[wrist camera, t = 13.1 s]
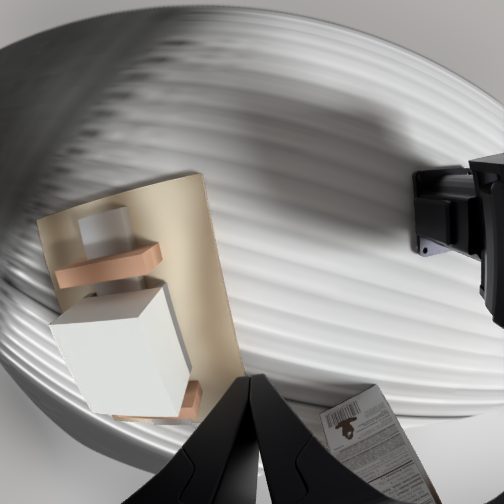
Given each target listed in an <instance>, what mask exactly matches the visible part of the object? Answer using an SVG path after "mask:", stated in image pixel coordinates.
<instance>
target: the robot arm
mask: <svg viewBox="0 0 504 504" xmlns="http://www.w3.org/2000/svg"><path fill="white" fill-rule="evenodd" d="M468 162H469V166H470V169H469V168H461V169H441V170H426V171H416V172H414V173H413V187H414V196H415V200H414V207H415V222H416V233H417V245H418V254H419V255H421V256H423V257H427V256H432V255H436V254H440V253H444V252H448V251H452V250H453V251H456V252H458V253H461V254H463V255H466V256H468V257H471V258H473V259H475V260H478V261H480V262H481V285H480V295H481V296H482V297H483V299H484V300H485V306H486V307H487V309H488V310H489V312H490V313H491V314H492V315H493V322H494V323H496V324H497V325H498V326H500V327H501V328H503V329H504V153H501V154H496V155H492V156H487V157H482V158H478V159H473V160H469V161H468ZM467 173H468V175H467ZM418 175H419V176H420V181H419V180H418ZM424 248H425V251H424V252H423V249H424ZM259 450H260V455H261V459H262V463H263V468H264V472H265V476H266V481H267V485H268V489H269V493H270V497H271V501H272V504H418V503H412V502H406V501H401V500H397V499H394V498H392V497H389V496H387V495H385V494H384V493H382V492H380V491H379V490H377V489H376V488H374V487H373V486H372V485H370V484H369V483H367V482H366V481H365V480H363V479H362V478H361V477H359V476H358V475H357V474H355V473H354V472H353V471H351V470H350V469H349V468H347V467H346V466H345V465H344V464H342V463H341V462H340V461H339V460H338V459H337V458H335V457H334V456H333V455H332V454H331V453H330V452H329V451H328V450H327V449H326V448H325V447H324V446H323V445H322V443H321V442H320V441H319V440H318V439H317V438H316V437H315V436H314V434H313V433H312V432H311V431H310V430H309V429H308V427H307V426H306V425H305V424H304V423H303V421H302V420H301V419H300V418H299V417H298V415H297V414H296V413H295V412H294V411H293V409H292V408H291V407H290V406H289V404H288V403H287V402H286V401H285V399H284V398H283V397H282V396H281V394H280V393H279V392H278V391H277V389H276V388H275V387H274V386H273V384H272V383H271V382H270V380H269V379H268V378H267V377H266V375H265V374H256V375H252V376H251V377H250V376H241V377H237V378H235V380H234V381H233V382H232V384H231V385H230V386H229V388H228V389H227V390H226V392H225V393H224V394H223V396H222V397H221V398H220V400H219V401H218V402H217V403H216V405H215V406H214V407H213V409H212V410H211V411H210V412H209V414H208V415H207V416H206V417H205V419H204V420H203V421H202V422H201V424H200V425H199V426H198V427H197V429H196V430H195V431H194V432H193V434H192V435H191V436H190V437H189V438H188V440H187V441H186V442H185V443H184V445H183V446H182V448H180V449H179V450H178V452H177V453H176V454H175V455H174V456H173V457H172V458H171V460H170V461H169V462H168V463H167V464H166V465H165V466H164V467H163V468H162V469H161V470H160V471H159V472H158V473H157V474H156V475H155V476H154V477H152V478H151V479H150V480H149V481H148V482H147V483H146V484H145V485H143V486H142V487H141V488H140V489H139V490H137V491H136V492H135V493H134V494H132V495H131V496H130V497H129V498H128V499H126V500H125V501H124V502H123V503H121V504H256V489H257V475H258V459H259ZM485 504H504V491H503V492H502V493H501V494H499V495H498V496H497V497H495V498H494V499H493V500H491V501H489V502H487V503H485Z"/></svg>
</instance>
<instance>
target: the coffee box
mask: <svg viewBox="0 0 504 504" xmlns="http://www.w3.org/2000/svg"><path fill="white" fill-rule="evenodd" d="M320 418H321V422H322V425H323V429H324V433H325V436H326V440H327V444H328V447H329V451H330V453H331V454H332V455H333V456H334V457H335V458H337V459H338V460H339V461H340V462H341V463H342V464H344V465H345V466H346V467H347V468H349V469H350V470H351V471H353V472H354V473H355V474H357V475H358V476H359V477H361V478H362V479H363V480H365V481H366V482H367V483H369V484H370V485H372V486H373V487H374V488H376V489H377V490H379V491H380V492H382V493H384V494H385V495H387V496H389V497H392V498H394V499H397V500H401V501H406V502H412V503H418V504H442V503H441V501H440V499H439V496H438V494H437V493H436V490H435V488H434V486H433V485H432V483H431V481H430V479H429V477H428V475H427V473H426V471H425V469H424V467H423V465H422V463H421V461H420V460H419V458H418V456H417V454H416V452H415V450H414V449H413V447H412V445H411V443H410V441H409V439H408V438H407V436H406V434H405V432H404V430H403V429H402V427H401V425H400V423H399V421H398V420H397V418H396V416H395V414H394V413H393V411H392V409H391V407H390V405H389V404H388V402H387V400H386V399H385V397H384V395H383V394H382V392H381V390H380V388H379V387H378V385H374V386H372V387H371V388H369V389H367V390H365V391H363V392H362V393H360V394H358V395H356V396H354V397H352V398H351V399H349V400H347V401H345V402H343V403H341V404H339V405H337V406H335V407H333V408H331V409H329V410H327V411H325V412H322V413H321V414H320Z"/></svg>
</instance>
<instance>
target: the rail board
mask: <svg viewBox="0 0 504 504" xmlns="http://www.w3.org/2000/svg"><path fill="white" fill-rule="evenodd" d="M36 221H37V226H38V230H39V235H40V239H41V244H42V248H43V252H44V256H45V259H46V263H47V267H48V270H49V274H50V277H51V280H52V284H53V287H54V290H55V293H56V296H57V299H58V302H59V305H60V307H61V310H62V313H64V312H65V311H67V310H68V309H69V308H70V307H72V306H73V305H74V304H76V303H77V302H78V301H80V300H81V299H82V298H83V297H85V296H86V295H87V294H89V293H95V292H96V294H97V296H103V295H110V294H117V293H124V292H131V291H138V290H145V289H152V288H153V287H154V286H155V285H156V284H157V283H162V282H167V285H168V289H169V293H170V296H171V300H172V304H173V307H174V311H175V314H176V317H177V321H178V324H179V327H180V331H181V334H182V337H183V340H184V343H185V347H186V350H187V353H188V356H189V359H190V362H191V365H192V370H191V373H190V377H189V380H188V384H187V387H186V391H185V394H184V398H183V401H182V405H181V409H180V412H179V416H178V417H144V416H124V415H112V417H113V418H114V420H116V421H129V422H149V423H154V424H155V425H191V423H195V422H202V421H203V420H204V419H205V417H206V416H207V415H208V414H209V412H210V411H211V410H212V409H213V407H214V406H215V405H216V403H217V402H218V401H219V400H220V398H221V397H222V396H223V394H224V393H225V392H226V390H227V389H228V388H229V386H230V385H231V384H232V382H233V381H234V380H235V378H237V377H241V376H246V375H245V371H244V367H243V363H242V359H241V355H240V350H239V346H238V342H237V338H236V333H235V329H234V324H233V320H232V316H231V311H230V307H229V302H228V298H227V293H226V288H225V284H224V279H223V274H222V270H221V265H220V260H219V255H218V250H217V245H216V240H215V235H214V230H213V225H212V220H211V215H210V210H209V204H208V199H207V194H206V188H205V183H204V177H203V174H201V173H200V174H195V175H190V176H186V177H181V178H177V179H173V180H168V181H164V182H160V183H156V184H152V185H148V186H144V187H140V188H137V189H133V190H129V191H125V192H122V193H118V194H115V195H111V196H108V197H104V198H101V199H98V200H95V201H91V202H88V203H85V204H82V205H79V206H76V207H72V208H69V209H66V210H63V211H61V212H58V213H55V214H52V215H49V216H46V217H44V218H41V219H38V220H36Z"/></svg>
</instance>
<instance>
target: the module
mask: <svg viewBox="0 0 504 504" xmlns="http://www.w3.org/2000/svg"><path fill="white" fill-rule="evenodd" d="M49 327H50V330H51V332H52V335H53V337H54V339H55V342H56V344H57V346H58V348H59V351H60V353H61V355H62V357H63V359H64V361H65V363H66V365H67V367H68V369H69V371H70V373H71V375H72V377H73V379H74V381H75V383H76V385H77V386H78V388H79V390H80V392H81V394H82V395H83V397H84V399H85V401H86V402H87V404H88V406H89V407H90V409H91V411H92V412H93V413H100V414H110V415H124V416H144V417H178V416H179V412H180V409H181V405H182V401H183V398H184V394H185V391H186V387H187V384H188V380H189V377H190V373H191V370H192V365H191V362H190V359H189V356H188V353H187V350H186V347H185V343H184V340H183V337H182V334H181V331H180V327H179V324H178V321H177V317H176V314H175V311H174V307H173V304H172V300H171V296H170V293H169V289H168V285H167V282H162V283H157V284H156V285H155V286H154V287H153V288H152V289H145V290H138V291H131V292H124V293H117V294H110V295H103V296H97V294H96V292H95V293H89V294H87V295H86V296H85V297H83V298H82V299H81V300H80V301H78V302H77V303H76V304H74V305H73V306H72V307H70V308H69V309H68V310H67V311H65V312H64V313H63V314H62V315H60V316H59V317H58V318H57V319H55V320H54V321H53V322H52V323H50V324H49Z"/></svg>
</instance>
